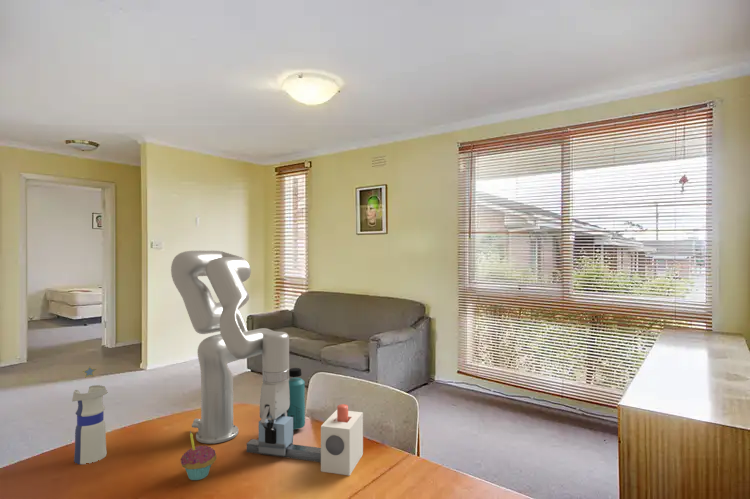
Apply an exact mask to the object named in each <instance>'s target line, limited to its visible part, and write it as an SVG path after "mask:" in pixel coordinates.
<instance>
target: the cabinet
mask: <svg viewBox="0 0 750 499" xmlns="http://www.w3.org/2000/svg"><path fill="white" fill-rule="evenodd" d="M320 448H321V462H320V472H321V473H329V474H336V475H342V476H351V475H352V472H353V471H354V470H355V468H356V466H357V464H358V463H359V462H360V459H362V456H363V454H364V412H362V411H353V410H348V422H338V421H337V409H336V410H335V411H334V412H333V413H332V414H331V415H330V416H329V417H328V418H327V419H326V420H325V421H324V422H323V423H322V424H321V426H320Z"/></svg>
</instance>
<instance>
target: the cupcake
mask: <svg viewBox="0 0 750 499" xmlns="http://www.w3.org/2000/svg"><path fill="white" fill-rule="evenodd" d="M189 436H190V437H189V438H190V443H191V448H189V449H188V450H187V451H184V452H185V453H183V454H182V456H181V458H180V464H181V467H182V468H184V469H185V471H186V474H187V477H188V479H189V480H191V481H199V480H202V479H205V478H207V477H208V475H209V472H210V468H211V466H212V465H213V464H214V463H215V461H216V460H217V453H216V450H215V449H214V448H212V447H211V446H209V445H198V446H197V445H196V444H195V439H194V435H193V432H192V431H191V430H189ZM195 445H196V446H195Z"/></svg>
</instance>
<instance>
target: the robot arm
mask: <svg viewBox="0 0 750 499" xmlns="http://www.w3.org/2000/svg"><path fill="white" fill-rule="evenodd" d="M251 273H252V269H251V266H250V264H249V262H248V261H247V260H246V259H245V258H244V257H242V256H239V255H236V254H232V253H229V252H226V251H223V250H222V251H221V250H186V251H183V252H180V253H178V254H177V255H175V256H174V258H173V259H172V261H171V266H170V274H171V278H172V281H173V284H174V286H175V288H176V289H177V291H178V293H179V294H180V297H181V298H182V300H183V303H184V306H185V309H186V312H187V314H188V318H189V319H190V322H191V325H192V327H193V329H194V331H195V332H196V334H199V335H207V334H213V333H218V332H220V333H219V334H214V335H211V336H208V337H206V338H204V339H203V340H202V341H201V342H200V343H199V345H198V347H197V358H198V362H199V369H200V392H201V393H200V397H201V398H200V399H201V401H200V402H201V403H200V404H201V407H200V408H201V409H200V412H201V414H200V415H201V416H200V418H194V419H193V422H192V424H191V428H197V429H198V430H197V432H196V434H195V439H196V441H198V442H199V443H201V444H209V445H210V444H211V445H212V444H220V443H224V442H228V441H230V440H232V439H234V438H236V436H238V435H239V427H238V426H237V425H234V376H233V373H232V371H231V370H230V368H229V366H228V364H230V363H233V362H236V361H237V362H238V361H240V360H246V359H250V358H252V357H257V356H260V355H262V357H261V358H262V360H261V361H262V363H261V364H262V365H261V366H262V383H261V387H260V388H261V389H260V396H259V397H260V399H259V418H260V419H261V424H262V425H263V427H264V430H265V443H269V444H275V443H276V429H275V423H276V419H277V418H278V417H279V416H287V413H288V409H289V406H290V391H289V379H290V376H289V369H290V335H289V334H288V333H287V332H285V331H274V330H272V329H270V328H266V327H264V328H262V327H261V328H256V329H251V330H248V329H247V326H246V323H245V320H244V318H243V316H242V313H241V311H240V309H241V308H242V307H243V306H244V305H246V304H247V302H248V301H249V299H250V294H249V292H248V291H247V289H246V287H245V285H244V283H245V282H247V280H248V279H250V277H251ZM199 277H207V279H208V280H209V283H210V285H211V287H212V289H213V291H214V293H215V295H216V297H217V299H218V301H219V302H216V301H215V300H214V298H213V295H212V293H211V290H210V288H208V286H207V285H206V284H205V283H204V282H203V281H201V280H200V279H199ZM243 282H244V283H243ZM269 415H270V416H272V418H269ZM269 420H272V424H271V423H270V422H269Z"/></svg>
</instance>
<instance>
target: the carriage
mask: <svg viewBox="0 0 750 499" xmlns="http://www.w3.org/2000/svg"><path fill="white" fill-rule="evenodd" d="M269 418H272V416H270V415H269ZM269 422H270V423H271V424H272V420H269ZM275 429H276V443H275V444H269V443H265V430H264V427H263V425H262V424H261V420H258V440H259V452H260V453H267V454H275V455H282V456H285V455H286V448H287V447H288V446H289V445H290V444H294V429H293V417H288V416H279V417H278V418H277V419H276V423H275Z"/></svg>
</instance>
